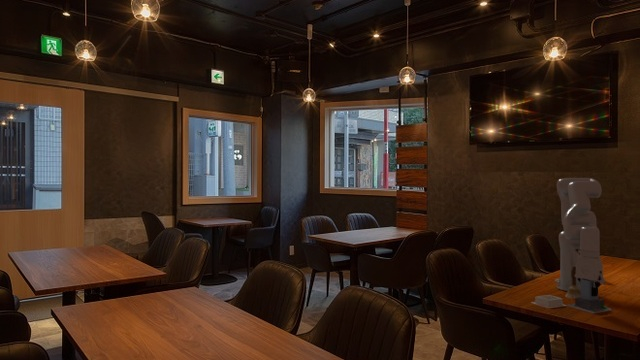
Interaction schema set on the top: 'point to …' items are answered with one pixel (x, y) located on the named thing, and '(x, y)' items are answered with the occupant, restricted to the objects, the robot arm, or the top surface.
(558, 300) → the box
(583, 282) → the plug
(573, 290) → the hand bell
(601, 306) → the port
